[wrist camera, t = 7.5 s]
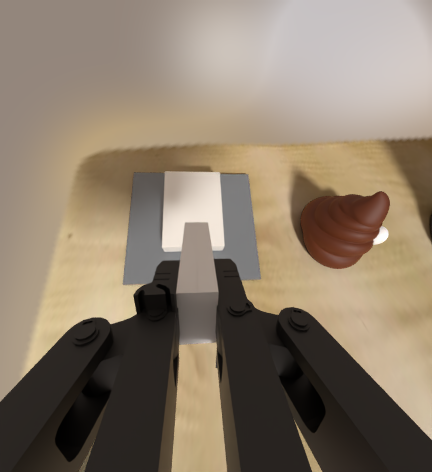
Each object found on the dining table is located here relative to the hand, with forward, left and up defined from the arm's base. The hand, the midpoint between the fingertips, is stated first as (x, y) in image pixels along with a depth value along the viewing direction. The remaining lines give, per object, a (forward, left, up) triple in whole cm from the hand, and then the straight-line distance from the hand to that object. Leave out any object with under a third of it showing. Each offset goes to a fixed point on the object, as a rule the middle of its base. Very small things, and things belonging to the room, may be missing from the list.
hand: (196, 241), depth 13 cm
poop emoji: (-18, -4, -12) cm, 22 cm away
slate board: (0, -6, -12) cm, 13 cm away
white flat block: (0, -2, -10) cm, 10 cm away
